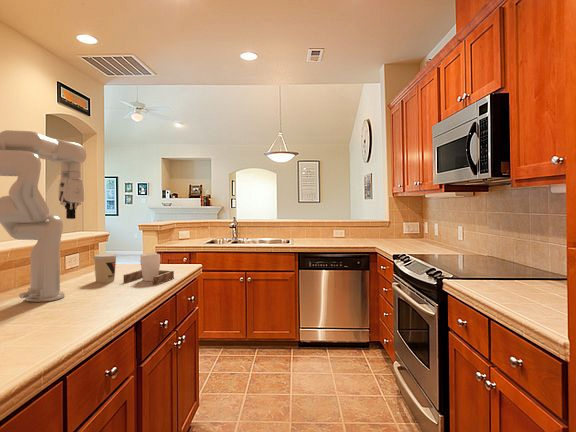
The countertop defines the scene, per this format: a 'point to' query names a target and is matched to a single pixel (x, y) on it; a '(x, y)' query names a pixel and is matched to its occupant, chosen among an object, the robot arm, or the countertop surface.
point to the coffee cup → (105, 267)
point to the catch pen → (158, 279)
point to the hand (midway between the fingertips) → (70, 218)
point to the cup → (150, 266)
